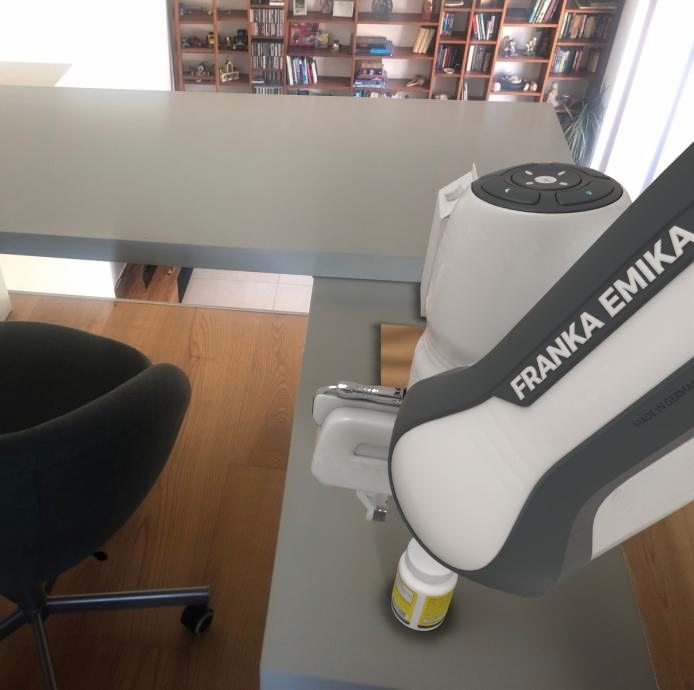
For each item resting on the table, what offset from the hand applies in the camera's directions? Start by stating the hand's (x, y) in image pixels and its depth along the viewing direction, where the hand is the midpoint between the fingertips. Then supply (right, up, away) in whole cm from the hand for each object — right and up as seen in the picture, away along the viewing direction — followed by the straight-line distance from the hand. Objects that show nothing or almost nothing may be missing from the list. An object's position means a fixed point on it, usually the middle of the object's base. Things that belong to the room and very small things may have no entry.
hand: (436, 524), depth 54 cm
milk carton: (+13, +19, +40) cm, 47 cm away
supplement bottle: (0, -9, +7) cm, 12 cm away
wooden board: (+10, +10, +30) cm, 33 cm away
